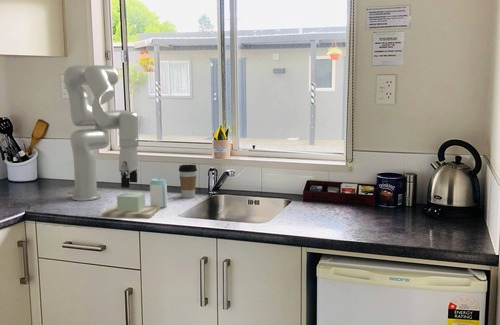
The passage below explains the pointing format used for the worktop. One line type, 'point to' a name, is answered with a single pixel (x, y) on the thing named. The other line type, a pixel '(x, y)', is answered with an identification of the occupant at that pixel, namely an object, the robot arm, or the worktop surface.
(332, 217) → the worktop surface
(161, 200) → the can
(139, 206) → the sage brick
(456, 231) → the worktop surface
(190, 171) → the coffee cup
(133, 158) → the robot arm
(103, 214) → the birch board
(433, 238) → the worktop surface
